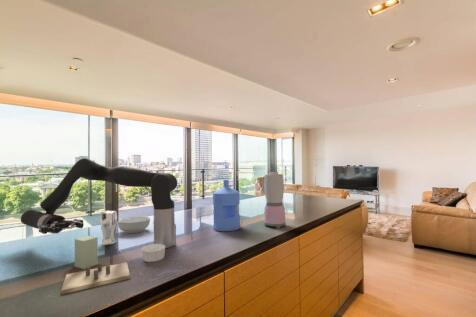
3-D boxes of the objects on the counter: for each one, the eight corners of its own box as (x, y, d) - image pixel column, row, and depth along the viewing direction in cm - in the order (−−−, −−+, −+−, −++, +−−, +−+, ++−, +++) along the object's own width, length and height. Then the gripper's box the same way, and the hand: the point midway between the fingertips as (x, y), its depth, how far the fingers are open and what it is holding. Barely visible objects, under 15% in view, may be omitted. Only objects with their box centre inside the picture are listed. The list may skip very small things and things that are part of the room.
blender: (290, 225, 139) (288, 171, 140) (277, 229, 131) (275, 172, 132) (269, 221, 151) (268, 171, 152) (256, 225, 143) (255, 172, 144)
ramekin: (165, 261, 90) (165, 249, 90) (140, 264, 88) (140, 252, 88) (165, 253, 99) (165, 242, 99) (143, 255, 96) (143, 245, 96)
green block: (74, 266, 87) (74, 238, 88) (88, 261, 92) (88, 235, 92) (83, 269, 84) (83, 241, 85) (97, 264, 89) (97, 237, 89)
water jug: (207, 229, 135) (206, 180, 136) (224, 223, 147) (223, 179, 148) (229, 233, 126) (228, 181, 127) (245, 226, 139) (244, 179, 140)
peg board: (126, 265, 87) (126, 255, 87) (129, 278, 76) (129, 266, 76) (66, 277, 78) (66, 266, 78) (61, 294, 67) (61, 281, 67)
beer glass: (110, 245, 109) (109, 213, 110) (97, 245, 111) (97, 213, 111) (120, 241, 116) (120, 210, 117) (108, 240, 118) (108, 210, 118)
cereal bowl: (156, 230, 136) (156, 217, 137) (129, 237, 122) (129, 223, 123) (138, 226, 145) (138, 215, 146) (111, 233, 131) (111, 220, 132)
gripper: (31, 217, 96) (49, 222, 88) (70, 211, 108) (89, 215, 100) (30, 236, 96) (49, 242, 88) (70, 228, 108) (89, 233, 100)
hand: (70, 228), depth 94 cm, fingers open, 8 cm apart
